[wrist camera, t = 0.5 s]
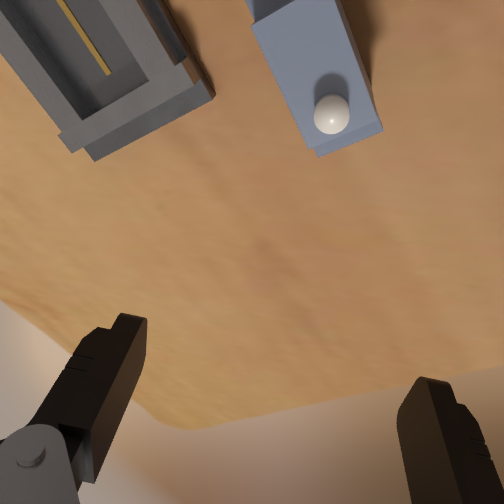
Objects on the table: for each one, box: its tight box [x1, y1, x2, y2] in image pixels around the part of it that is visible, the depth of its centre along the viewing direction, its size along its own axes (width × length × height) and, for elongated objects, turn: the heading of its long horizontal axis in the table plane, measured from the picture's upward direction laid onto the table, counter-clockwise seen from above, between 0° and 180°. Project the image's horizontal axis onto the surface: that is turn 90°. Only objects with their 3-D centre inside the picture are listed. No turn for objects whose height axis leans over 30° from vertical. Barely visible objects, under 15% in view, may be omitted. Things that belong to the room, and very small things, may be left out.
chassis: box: [0, 0, 216, 162], centre depth 26 cm, size 15×11×2 cm
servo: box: [245, 0, 384, 158], centre depth 23 cm, size 10×4×7 cm, turn 28°
